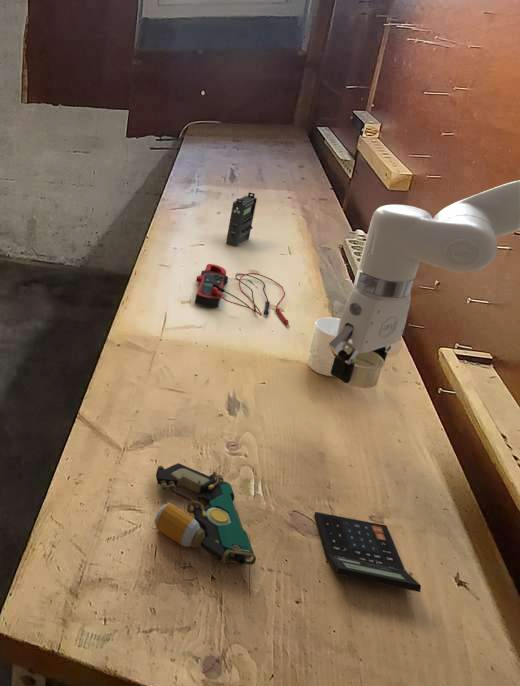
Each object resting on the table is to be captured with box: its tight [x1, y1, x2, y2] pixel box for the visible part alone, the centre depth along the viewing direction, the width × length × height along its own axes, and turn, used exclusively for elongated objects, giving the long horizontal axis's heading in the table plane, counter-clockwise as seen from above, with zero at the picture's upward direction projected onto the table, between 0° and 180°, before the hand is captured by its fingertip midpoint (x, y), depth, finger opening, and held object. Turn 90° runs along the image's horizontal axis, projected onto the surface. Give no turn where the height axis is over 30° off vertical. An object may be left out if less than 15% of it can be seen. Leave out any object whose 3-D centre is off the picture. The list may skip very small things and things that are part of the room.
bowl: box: [336, 346, 385, 389], centre depth 97 cm, size 7×7×4 cm
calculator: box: [313, 511, 422, 593], centre depth 78 cm, size 9×12×3 cm
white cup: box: [307, 316, 353, 378], centre depth 116 cm, size 8×8×10 cm
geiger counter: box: [225, 191, 258, 247], centre depth 175 cm, size 10×4×15 cm, turn 132°
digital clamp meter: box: [194, 263, 291, 328], centre depth 146 cm, size 23×4×25 cm
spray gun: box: [154, 462, 257, 566], centre depth 85 cm, size 4×17×15 cm
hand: (355, 372), depth 98 cm, fingers closed on bowl, 6 cm apart
